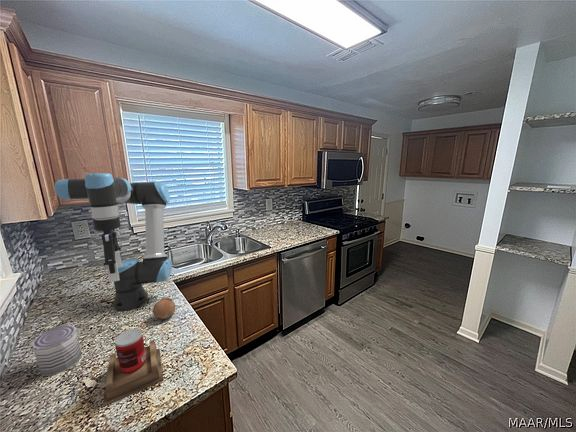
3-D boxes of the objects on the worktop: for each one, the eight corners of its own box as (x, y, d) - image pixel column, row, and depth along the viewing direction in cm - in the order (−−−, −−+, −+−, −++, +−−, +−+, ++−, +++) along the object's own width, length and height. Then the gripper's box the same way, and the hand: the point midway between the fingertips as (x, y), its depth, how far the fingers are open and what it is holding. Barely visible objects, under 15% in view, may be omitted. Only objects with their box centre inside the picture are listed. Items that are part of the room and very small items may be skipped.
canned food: (141, 351, 85) (137, 325, 82) (150, 363, 80) (145, 335, 77) (116, 365, 79) (111, 337, 77) (124, 378, 74) (118, 349, 72)
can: (87, 347, 92) (81, 321, 90) (74, 370, 82) (67, 340, 80) (50, 356, 88) (42, 329, 86) (31, 381, 78) (22, 350, 76)
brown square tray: (108, 368, 82) (105, 354, 81) (159, 349, 91) (157, 336, 89) (103, 406, 69) (99, 390, 68) (163, 380, 77) (161, 365, 76)
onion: (169, 317, 115) (173, 296, 118) (175, 321, 108) (179, 298, 111) (148, 318, 109) (153, 296, 112) (153, 322, 102) (158, 298, 105)
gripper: (97, 213, 90) (107, 264, 94) (85, 226, 69) (98, 291, 73) (121, 211, 94) (129, 260, 98) (116, 223, 73) (127, 284, 77)
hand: (116, 273), depth 86 cm, fingers open, 13 cm apart
